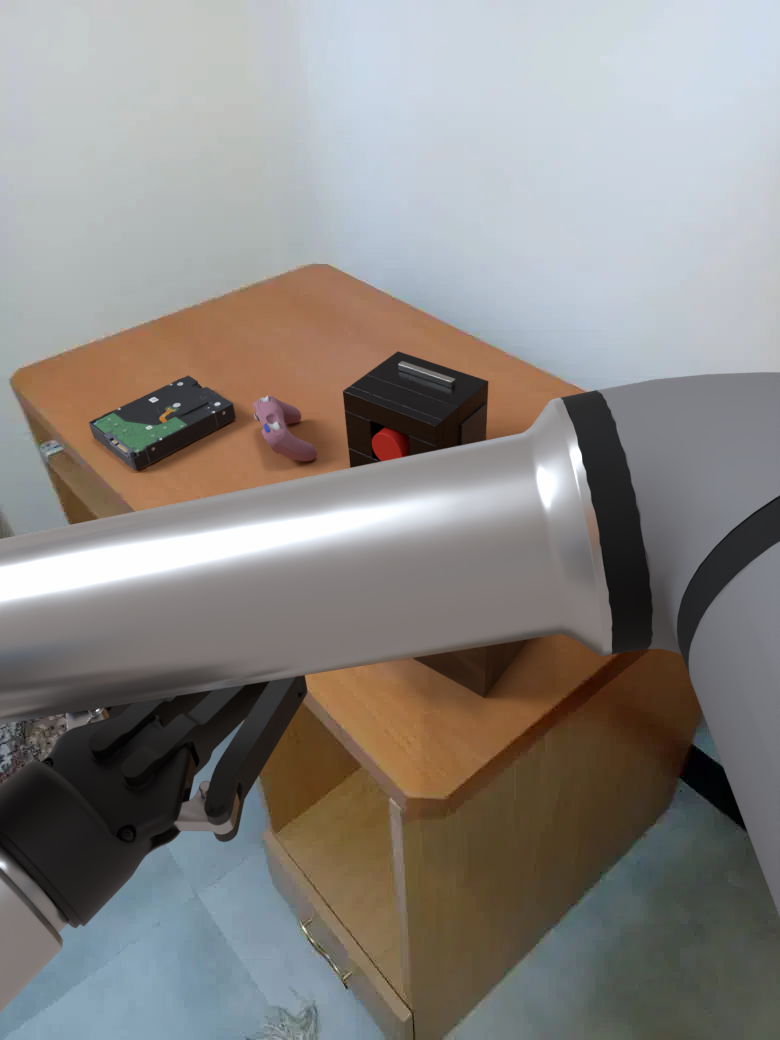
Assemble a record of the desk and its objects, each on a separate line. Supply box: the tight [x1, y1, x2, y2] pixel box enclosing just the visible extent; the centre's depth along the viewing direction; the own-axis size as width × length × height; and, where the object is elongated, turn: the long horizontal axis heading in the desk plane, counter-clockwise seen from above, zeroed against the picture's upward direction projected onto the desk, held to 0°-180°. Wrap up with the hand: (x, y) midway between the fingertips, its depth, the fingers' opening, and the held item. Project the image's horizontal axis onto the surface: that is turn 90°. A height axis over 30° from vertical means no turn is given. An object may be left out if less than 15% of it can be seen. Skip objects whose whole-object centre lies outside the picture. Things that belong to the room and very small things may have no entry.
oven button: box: [372, 427, 409, 461], centre depth 85 cm, size 4×3×4 cm, turn 53°
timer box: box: [412, 639, 530, 698], centre depth 68 cm, size 10×10×13 cm
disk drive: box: [88, 375, 237, 471], centre depth 99 cm, size 10×3×15 cm
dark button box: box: [342, 351, 490, 468], centre depth 87 cm, size 12×10×12 cm
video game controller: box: [252, 394, 318, 462], centre depth 94 cm, size 10×5×7 cm, turn 17°
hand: (339, 574), depth 50 cm, fingers closed
